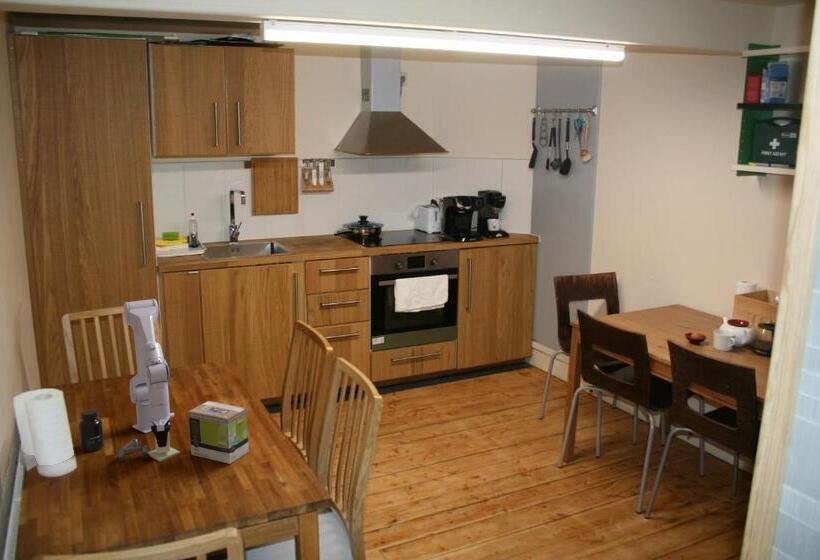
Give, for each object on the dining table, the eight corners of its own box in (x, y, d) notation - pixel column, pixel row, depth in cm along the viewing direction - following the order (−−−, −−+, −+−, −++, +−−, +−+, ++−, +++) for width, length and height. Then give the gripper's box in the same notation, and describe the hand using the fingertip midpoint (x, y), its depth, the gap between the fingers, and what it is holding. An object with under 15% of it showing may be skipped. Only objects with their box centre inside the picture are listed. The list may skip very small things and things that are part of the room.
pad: (166, 446, 234) (166, 445, 234) (179, 453, 230) (179, 451, 230) (146, 454, 229) (146, 453, 229) (159, 461, 225) (159, 459, 224)
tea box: (250, 451, 232) (247, 407, 228) (229, 465, 223) (226, 419, 219) (211, 442, 238) (208, 398, 234) (189, 455, 229) (186, 410, 225)
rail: (136, 448, 233) (135, 438, 232) (151, 456, 228) (150, 445, 227) (113, 457, 227) (112, 446, 226) (128, 465, 222) (127, 454, 221)
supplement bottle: (95, 453, 230) (92, 417, 227) (76, 451, 231) (72, 415, 228) (108, 443, 236) (105, 408, 233) (89, 441, 238) (86, 406, 235)
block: (156, 447, 230) (154, 429, 229) (169, 445, 232) (168, 427, 230) (156, 453, 227) (154, 434, 225) (169, 451, 228) (168, 433, 226)
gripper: (173, 409, 220) (176, 451, 223) (172, 391, 233) (175, 431, 237) (148, 412, 218) (151, 455, 221) (148, 394, 231) (152, 434, 234)
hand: (162, 443), depth 229 cm, fingers closed on block, 4 cm apart
